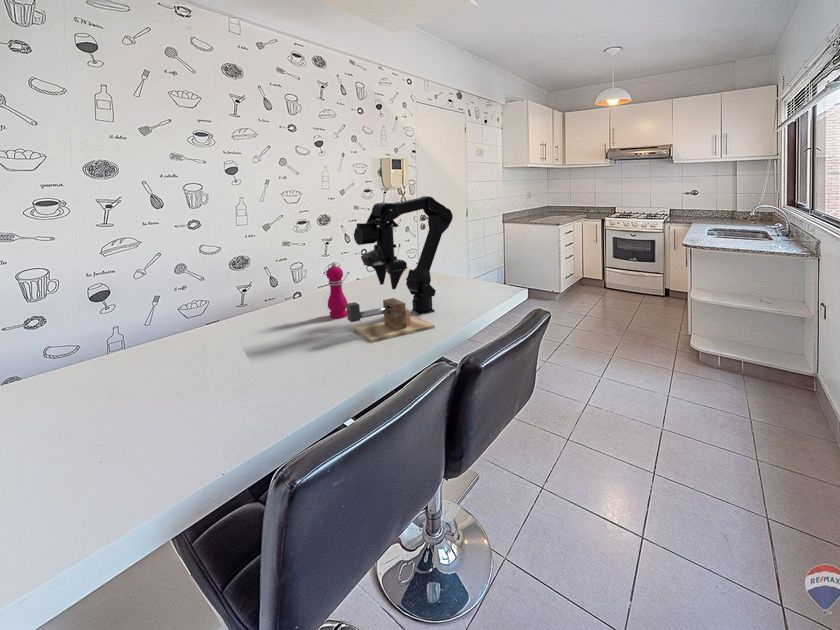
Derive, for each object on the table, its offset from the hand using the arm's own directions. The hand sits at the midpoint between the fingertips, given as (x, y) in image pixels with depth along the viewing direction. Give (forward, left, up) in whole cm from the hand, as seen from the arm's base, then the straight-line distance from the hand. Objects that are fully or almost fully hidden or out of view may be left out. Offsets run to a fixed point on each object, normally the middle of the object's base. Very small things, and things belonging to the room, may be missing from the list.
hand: (387, 286), depth 155 cm
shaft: (+11, +10, -6) cm, 16 cm away
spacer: (0, +10, -11) cm, 15 cm away
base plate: (+3, +10, -12) cm, 16 cm away
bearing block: (+3, +10, -12) cm, 16 cm away
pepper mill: (+13, -16, -12) cm, 24 cm away
